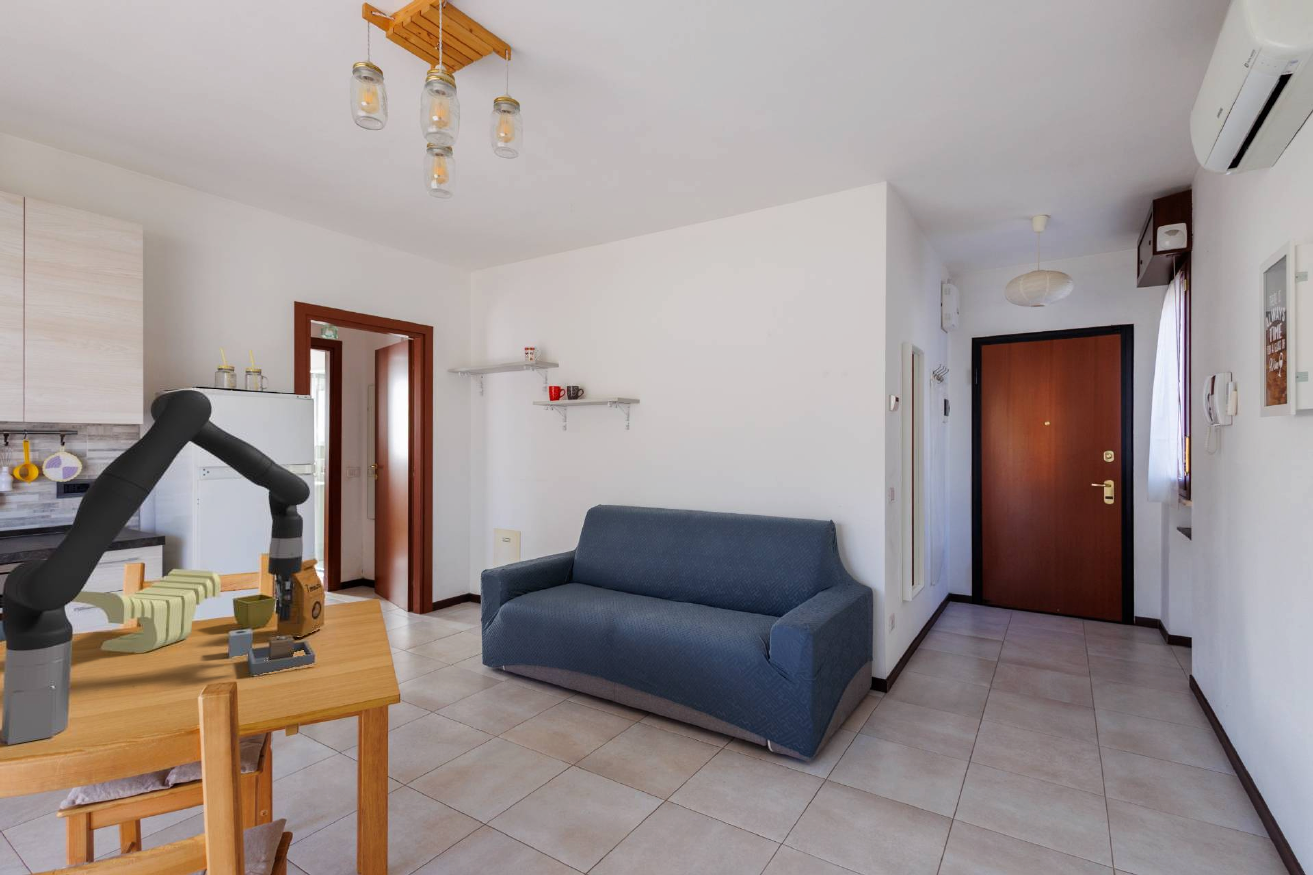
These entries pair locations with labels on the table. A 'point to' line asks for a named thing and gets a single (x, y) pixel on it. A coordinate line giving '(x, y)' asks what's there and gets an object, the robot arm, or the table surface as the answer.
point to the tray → (262, 653)
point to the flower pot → (253, 610)
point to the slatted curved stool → (156, 609)
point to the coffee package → (304, 603)
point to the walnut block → (281, 647)
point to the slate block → (240, 642)
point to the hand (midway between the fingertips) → (282, 617)
